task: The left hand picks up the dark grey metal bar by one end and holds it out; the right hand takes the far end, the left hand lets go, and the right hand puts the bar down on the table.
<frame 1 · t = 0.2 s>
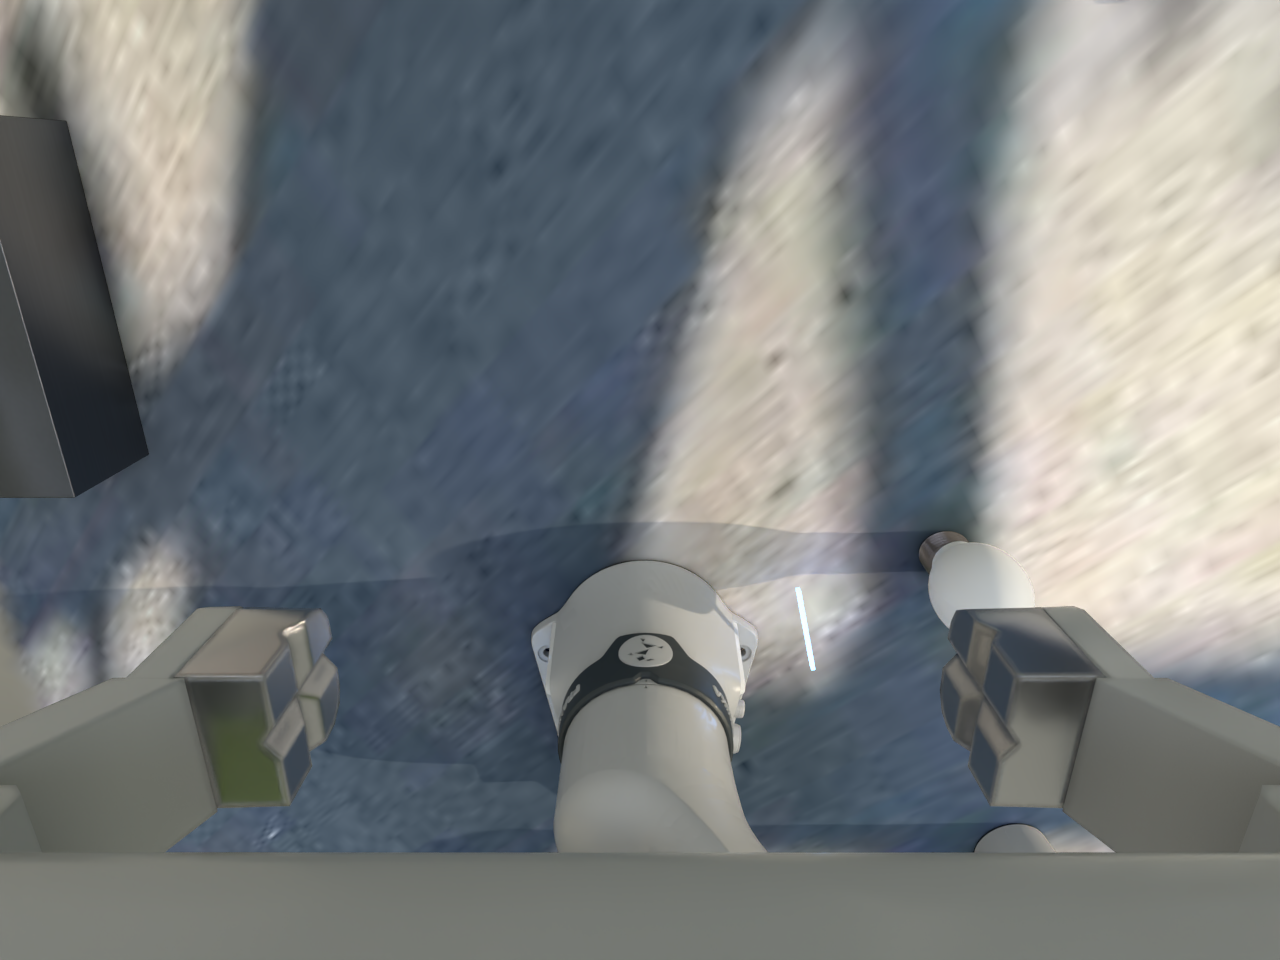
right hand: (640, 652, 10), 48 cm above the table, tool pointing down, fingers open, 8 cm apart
coffee cup: (1009, 849, 75), on the table
light bulb: (945, 549, 63), on the table
bar: (71, 300, 55), on the table
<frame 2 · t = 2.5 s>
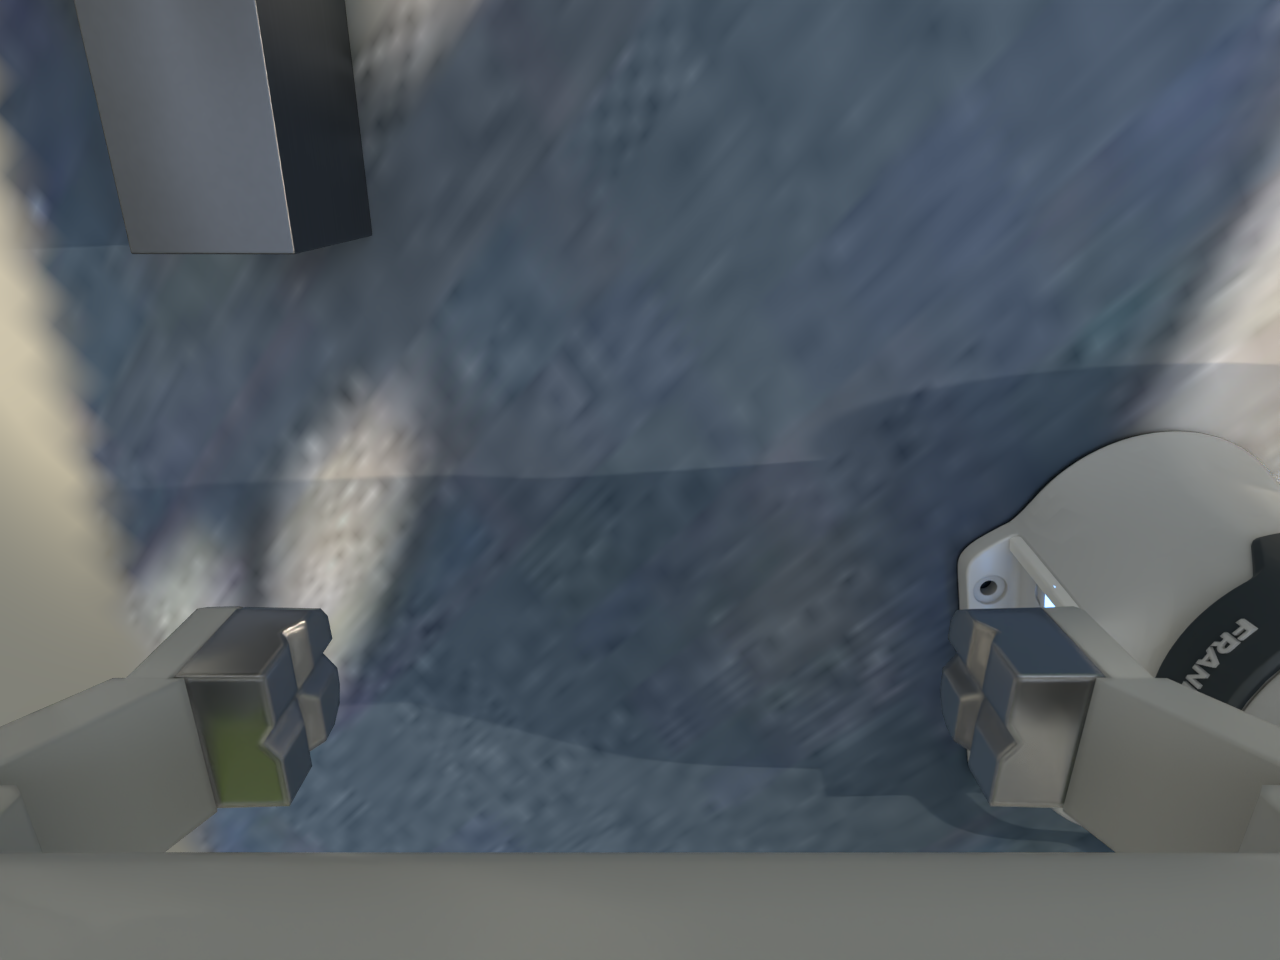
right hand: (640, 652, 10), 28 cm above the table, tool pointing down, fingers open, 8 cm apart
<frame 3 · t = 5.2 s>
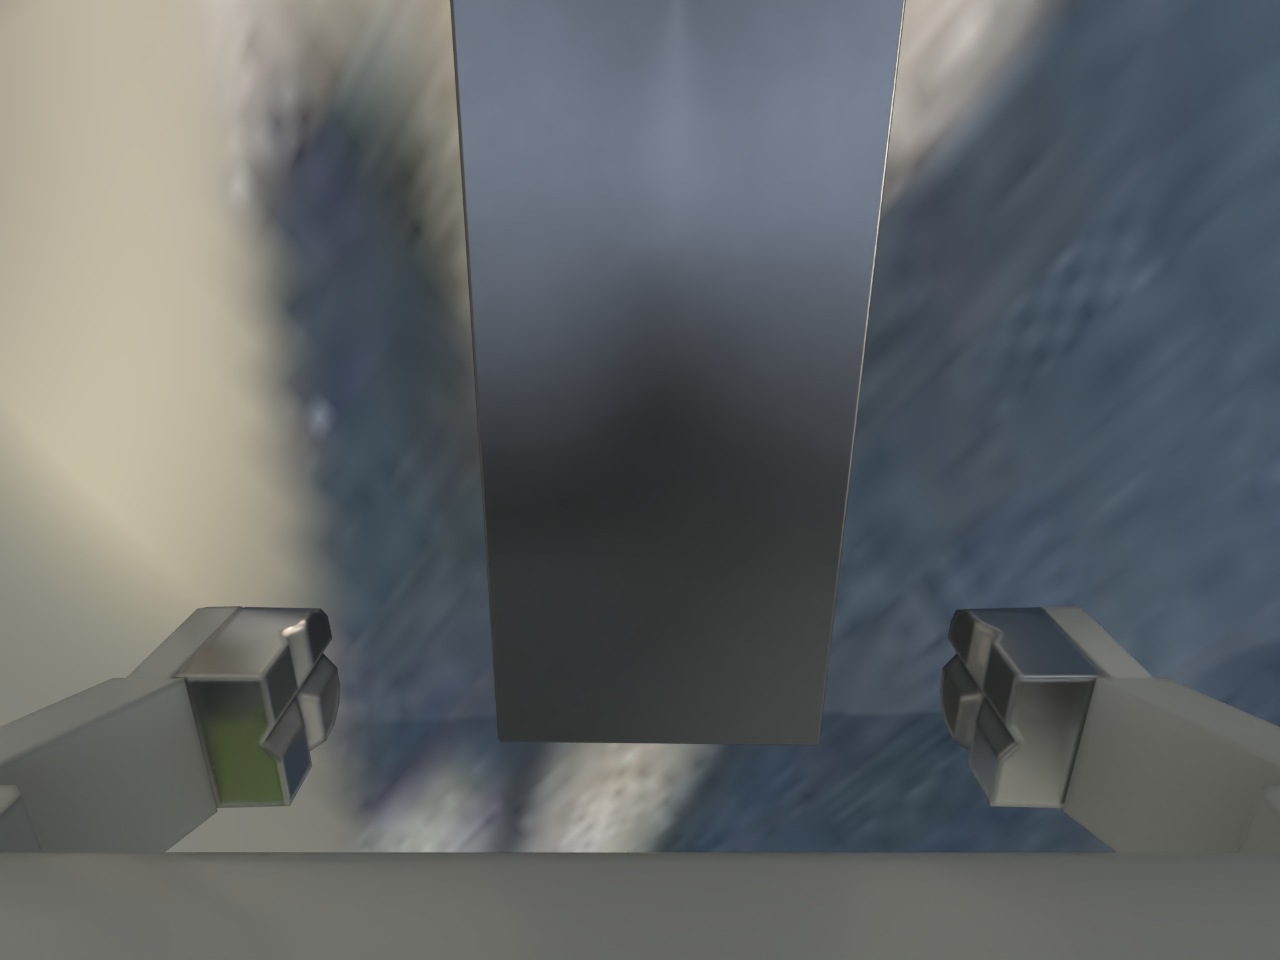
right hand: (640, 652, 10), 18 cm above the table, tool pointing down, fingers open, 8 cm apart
bar: (661, 64, 17), point 8 cm above the table, touching left hand
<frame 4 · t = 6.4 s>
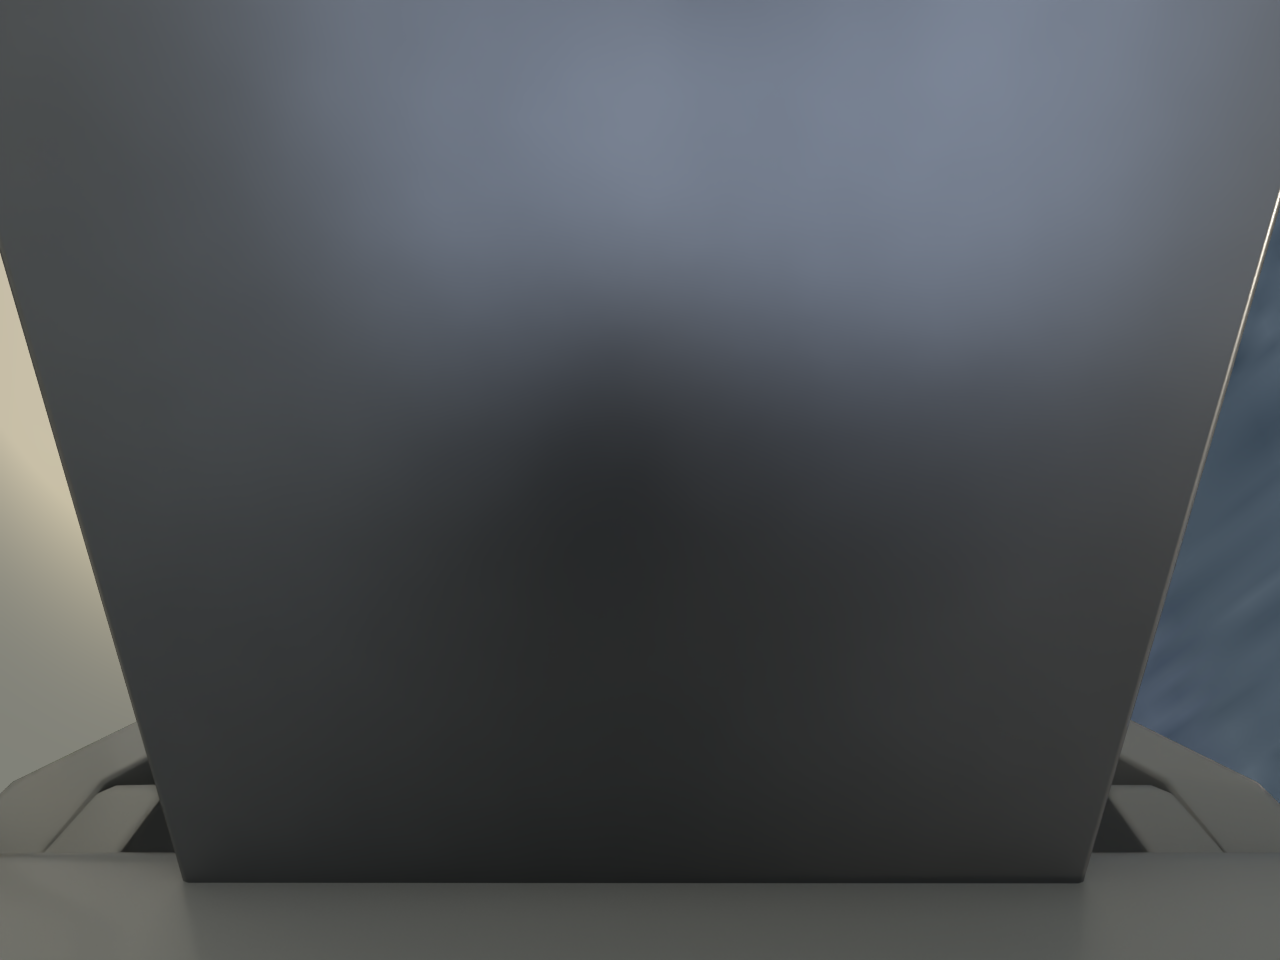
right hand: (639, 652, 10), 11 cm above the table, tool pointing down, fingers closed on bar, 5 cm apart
when the left hand's fingers open (12 cm above the table, at t = 7.7 s): bar moves 2 cm, held by the right hand.
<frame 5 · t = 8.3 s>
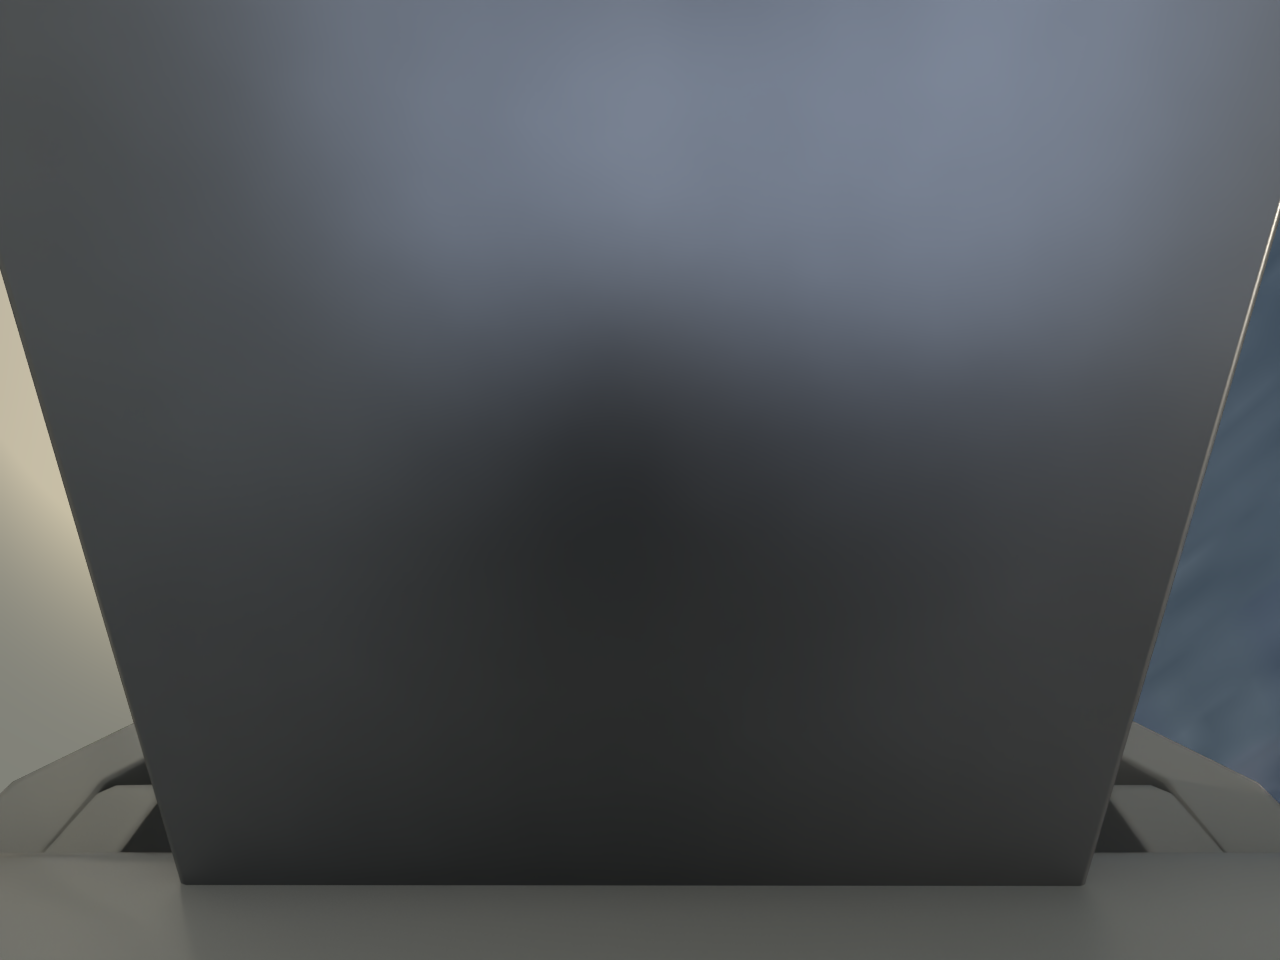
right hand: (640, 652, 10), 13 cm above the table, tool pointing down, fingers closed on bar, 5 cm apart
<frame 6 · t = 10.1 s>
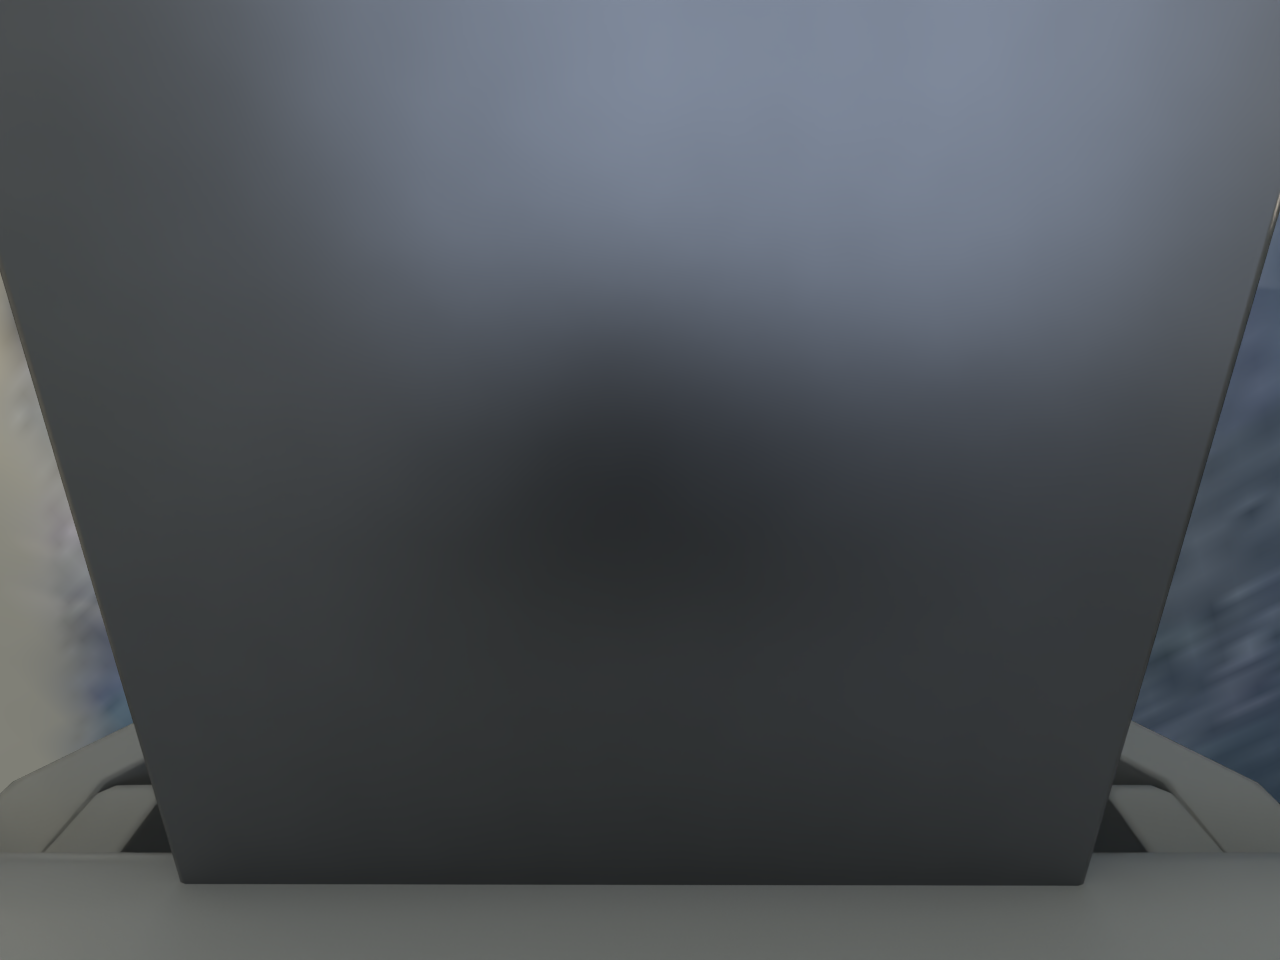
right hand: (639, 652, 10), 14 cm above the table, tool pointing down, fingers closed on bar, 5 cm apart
when the right hand's fingers open (5 cm above the table, at t = 11.7 s): bar stays where it is, on the table.
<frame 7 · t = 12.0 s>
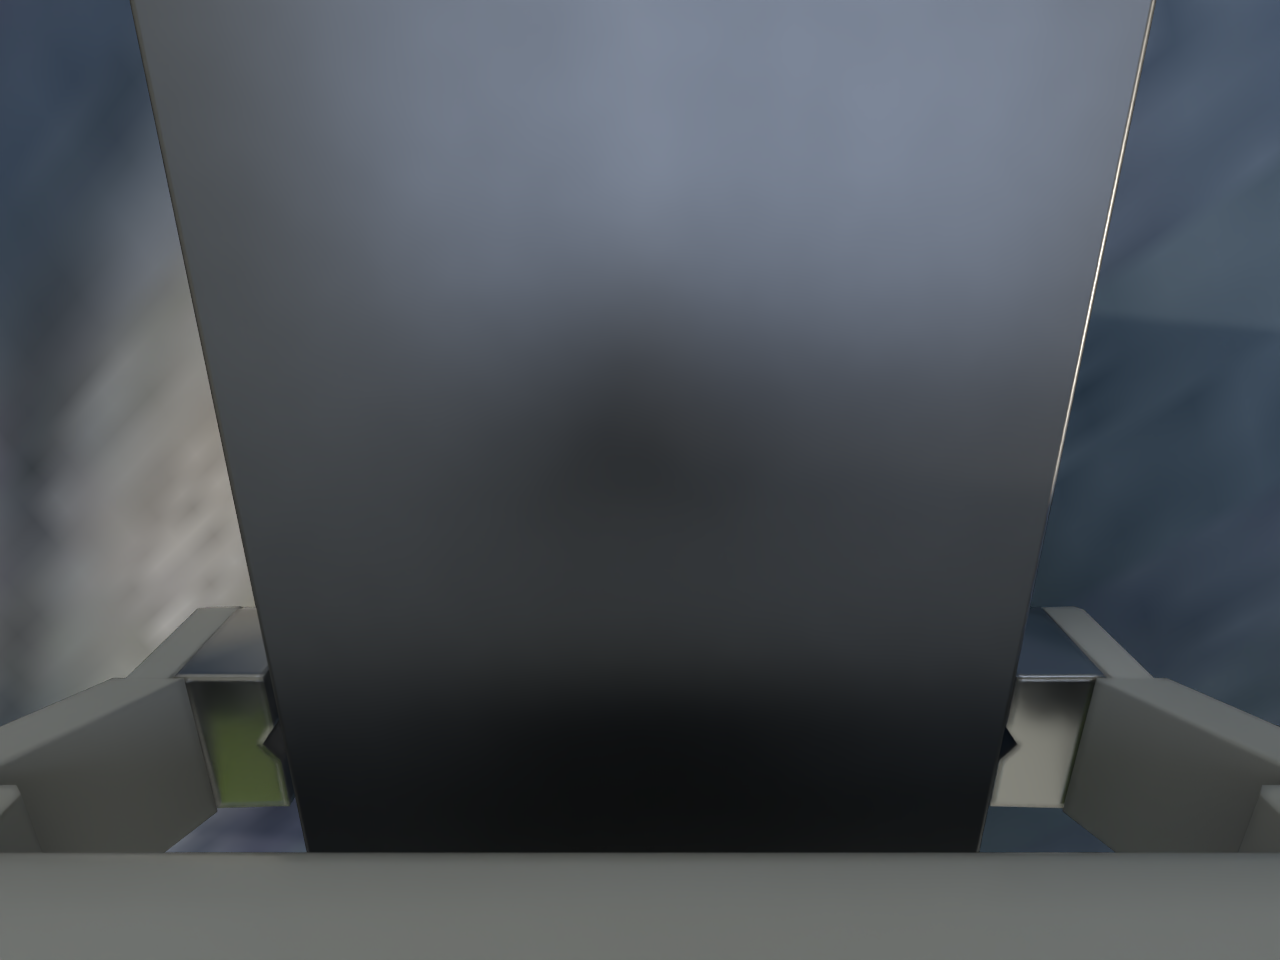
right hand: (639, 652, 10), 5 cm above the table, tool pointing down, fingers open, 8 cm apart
bar: (640, 48, 12), on the table
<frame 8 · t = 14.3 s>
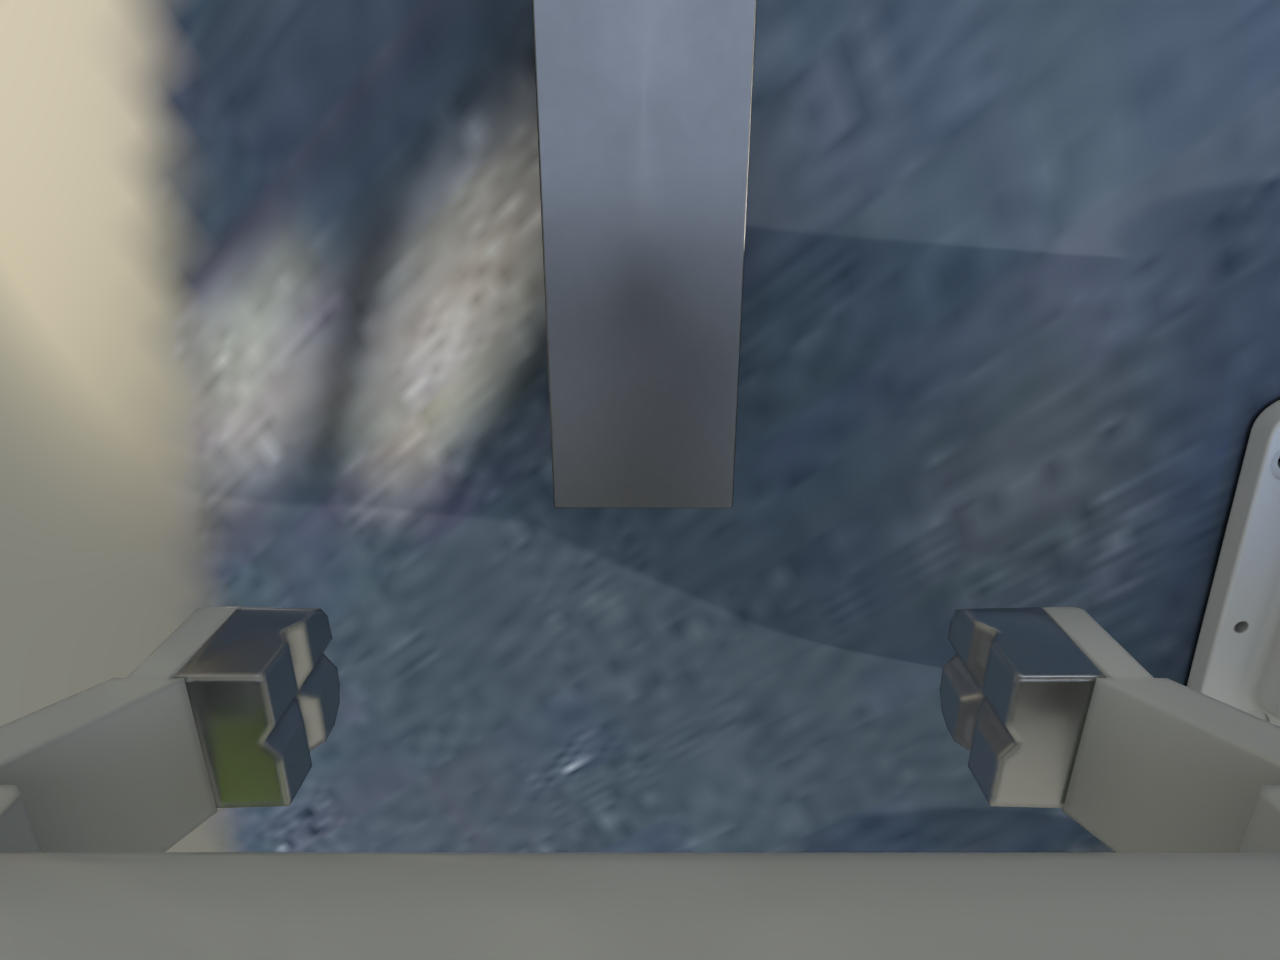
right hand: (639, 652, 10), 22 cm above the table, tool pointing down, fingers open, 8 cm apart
bar: (643, 120, 28), on the table
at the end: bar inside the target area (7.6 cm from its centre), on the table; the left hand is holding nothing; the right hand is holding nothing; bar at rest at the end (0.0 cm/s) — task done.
